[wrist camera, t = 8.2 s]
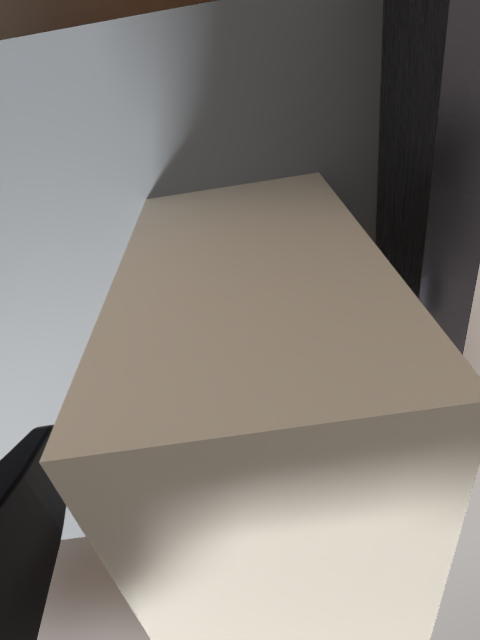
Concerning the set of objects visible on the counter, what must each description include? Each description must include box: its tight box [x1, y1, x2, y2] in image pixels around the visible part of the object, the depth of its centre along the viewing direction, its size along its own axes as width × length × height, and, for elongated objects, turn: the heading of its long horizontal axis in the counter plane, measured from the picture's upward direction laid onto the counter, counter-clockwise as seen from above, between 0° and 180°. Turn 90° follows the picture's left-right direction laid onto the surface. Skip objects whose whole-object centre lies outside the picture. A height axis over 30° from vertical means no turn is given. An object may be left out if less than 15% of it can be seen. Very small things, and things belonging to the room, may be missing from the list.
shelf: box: [0, 0, 480, 540], centre depth 14 cm, size 16×18×6 cm
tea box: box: [39, 172, 480, 640], centre depth 9 cm, size 6×5×8 cm
